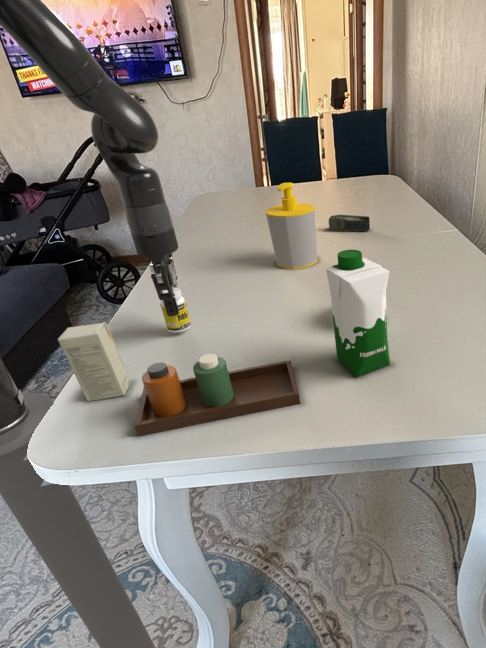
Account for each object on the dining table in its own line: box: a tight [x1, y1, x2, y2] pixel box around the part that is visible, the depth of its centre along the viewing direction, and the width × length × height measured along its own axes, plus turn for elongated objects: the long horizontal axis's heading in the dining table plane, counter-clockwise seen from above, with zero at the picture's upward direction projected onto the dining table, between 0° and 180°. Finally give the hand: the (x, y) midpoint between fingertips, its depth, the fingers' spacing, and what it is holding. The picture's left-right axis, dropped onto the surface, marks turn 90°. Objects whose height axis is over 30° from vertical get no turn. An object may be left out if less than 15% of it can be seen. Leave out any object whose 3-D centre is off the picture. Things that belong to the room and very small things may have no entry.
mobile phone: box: [324, 214, 371, 232], centre depth 154 cm, size 5×3×15 cm
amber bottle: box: [141, 362, 186, 417], centre depth 73 cm, size 5×5×8 cm
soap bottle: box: [265, 182, 318, 270], centre depth 127 cm, size 13×13×21 cm
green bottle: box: [192, 353, 234, 407], centre depth 75 cm, size 5×5×8 cm
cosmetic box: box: [57, 321, 131, 402], centre depth 78 cm, size 6×4×12 cm
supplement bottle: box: [160, 286, 192, 334], centre depth 96 cm, size 5×5×8 cm
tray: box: [134, 359, 301, 437], centre depth 77 cm, size 25×11×2 cm, turn 105°
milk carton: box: [325, 249, 391, 378], centre depth 80 cm, size 9×9×20 cm
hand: (174, 309), depth 96 cm, fingers closed on supplement bottle, 4 cm apart
